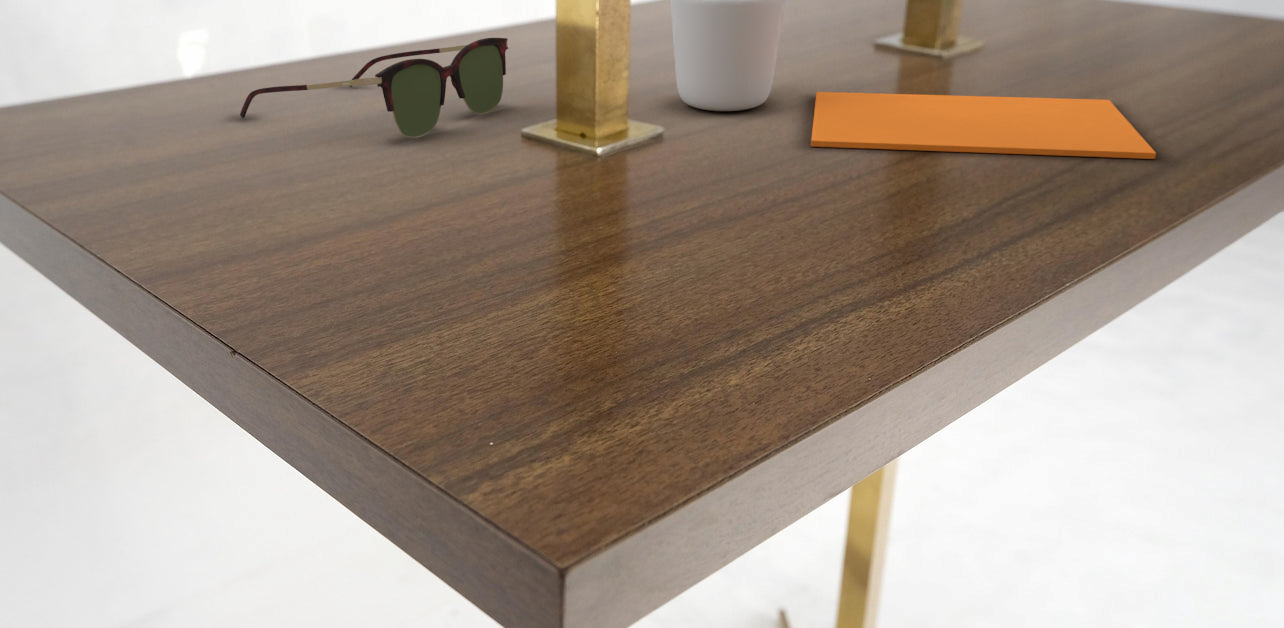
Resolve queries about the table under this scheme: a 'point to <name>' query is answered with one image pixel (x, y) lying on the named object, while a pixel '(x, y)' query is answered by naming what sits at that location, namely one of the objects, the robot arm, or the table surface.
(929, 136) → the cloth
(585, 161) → the table surface
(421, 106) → the sunglasses
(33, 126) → the table surface
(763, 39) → the cup
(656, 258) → the table surface
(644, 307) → the table surface
